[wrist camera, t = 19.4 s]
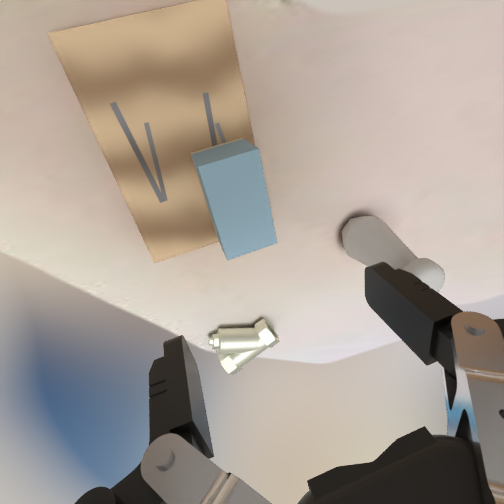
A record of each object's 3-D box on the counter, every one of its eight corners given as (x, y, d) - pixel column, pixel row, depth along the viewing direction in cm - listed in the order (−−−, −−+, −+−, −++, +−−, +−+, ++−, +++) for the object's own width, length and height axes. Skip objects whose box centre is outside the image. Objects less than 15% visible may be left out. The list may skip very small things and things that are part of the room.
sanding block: (190, 153, 28) (198, 167, 24) (242, 137, 29) (258, 148, 25) (217, 236, 33) (227, 260, 29) (260, 221, 34) (277, 242, 29)
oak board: (54, 36, 23) (47, 33, 22) (219, -1, 25) (224, -6, 23) (154, 253, 34) (154, 263, 32) (264, 217, 36) (270, 224, 34)
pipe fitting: (201, 334, 42) (230, 359, 46) (204, 354, 39) (235, 380, 42) (247, 299, 42) (273, 327, 45) (254, 317, 38) (282, 345, 42)
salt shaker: (326, 240, 40) (393, 301, 29) (353, 202, 38) (435, 252, 28) (355, 255, 43) (427, 317, 32) (382, 220, 41) (466, 273, 30)
